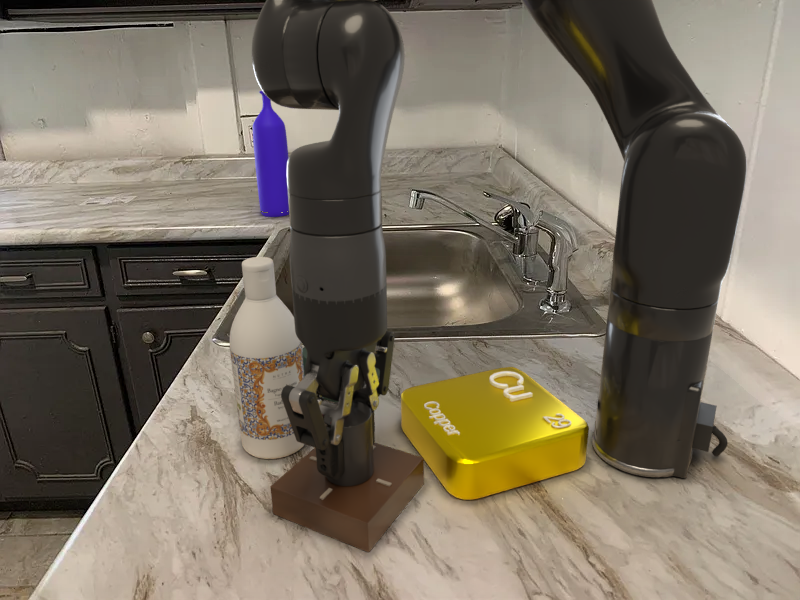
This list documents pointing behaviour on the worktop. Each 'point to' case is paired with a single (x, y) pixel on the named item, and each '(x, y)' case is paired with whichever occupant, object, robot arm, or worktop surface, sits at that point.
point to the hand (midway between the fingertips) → (347, 458)
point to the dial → (356, 445)
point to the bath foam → (264, 363)
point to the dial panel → (349, 497)
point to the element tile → (492, 431)
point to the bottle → (271, 161)
